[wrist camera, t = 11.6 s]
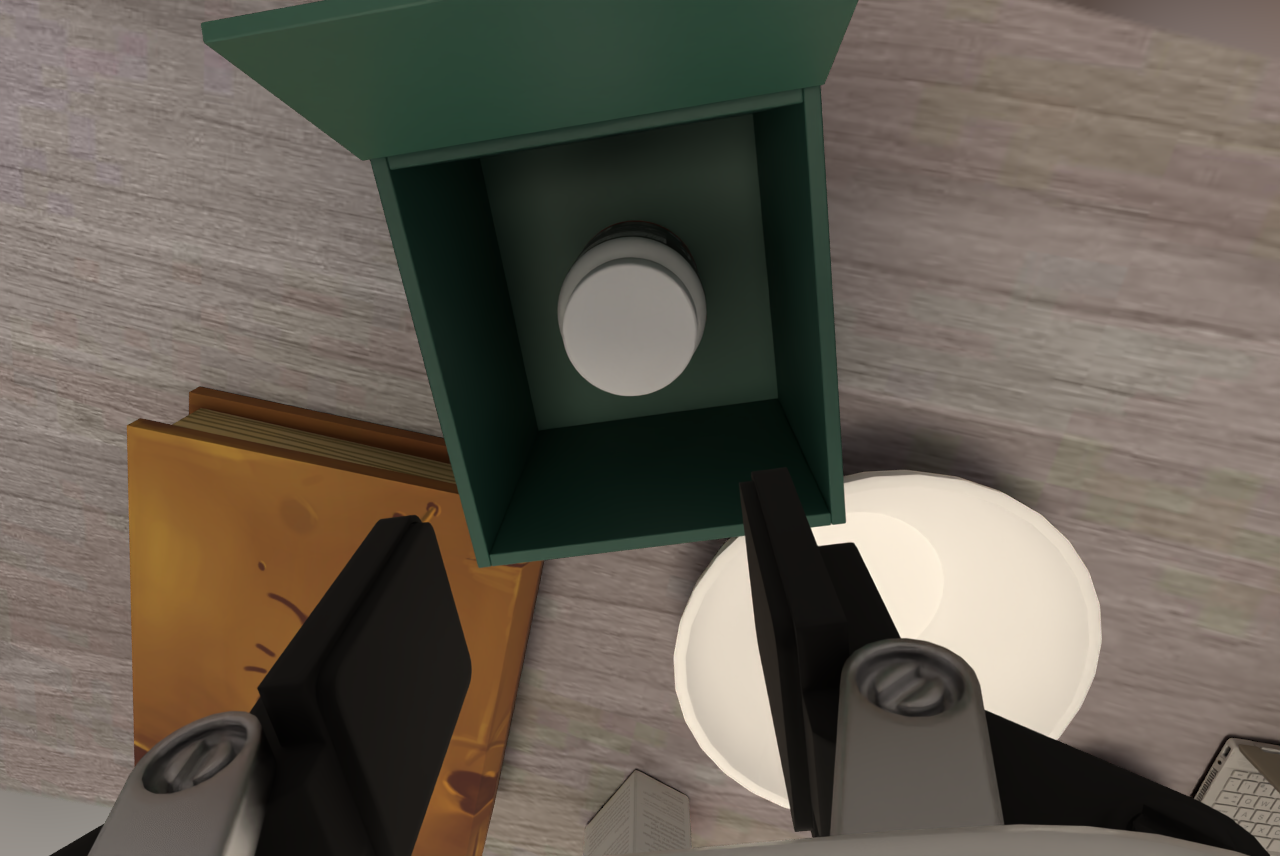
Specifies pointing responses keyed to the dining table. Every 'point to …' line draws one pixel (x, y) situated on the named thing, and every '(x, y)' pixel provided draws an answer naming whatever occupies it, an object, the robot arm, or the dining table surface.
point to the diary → (302, 573)
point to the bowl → (907, 613)
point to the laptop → (1247, 789)
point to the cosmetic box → (640, 820)
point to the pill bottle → (632, 309)
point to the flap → (520, 62)
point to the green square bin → (533, 345)
